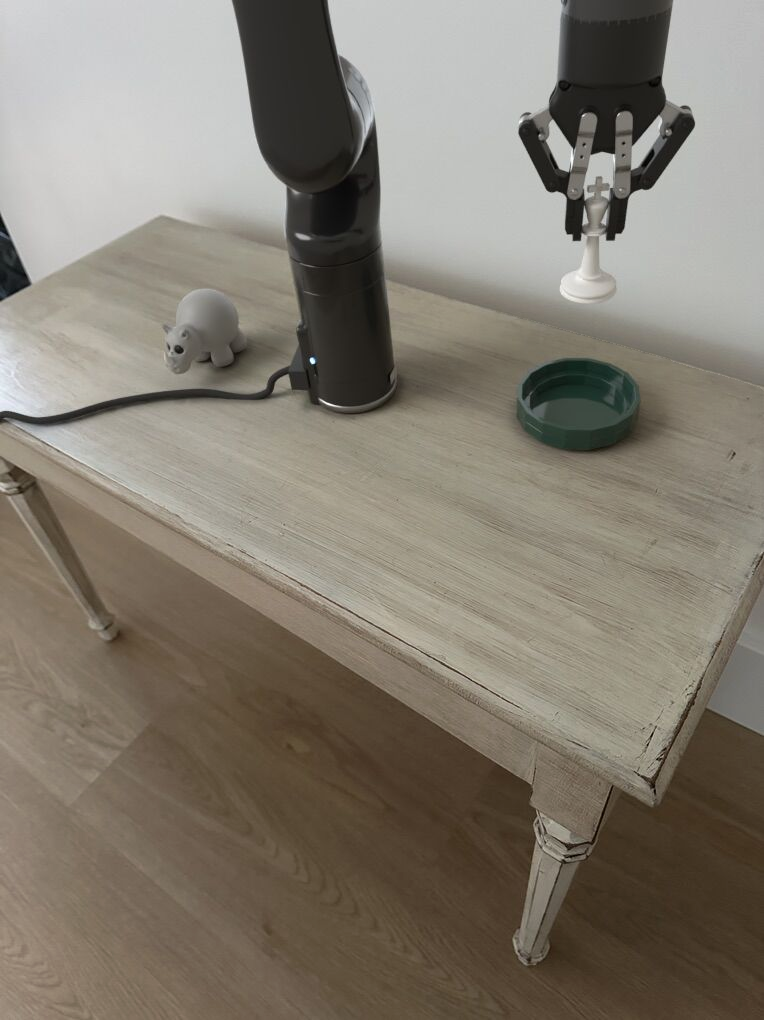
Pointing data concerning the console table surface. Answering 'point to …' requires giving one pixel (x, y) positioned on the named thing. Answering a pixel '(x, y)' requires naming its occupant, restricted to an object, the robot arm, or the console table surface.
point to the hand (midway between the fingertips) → (592, 236)
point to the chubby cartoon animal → (203, 331)
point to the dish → (578, 403)
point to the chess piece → (591, 255)
